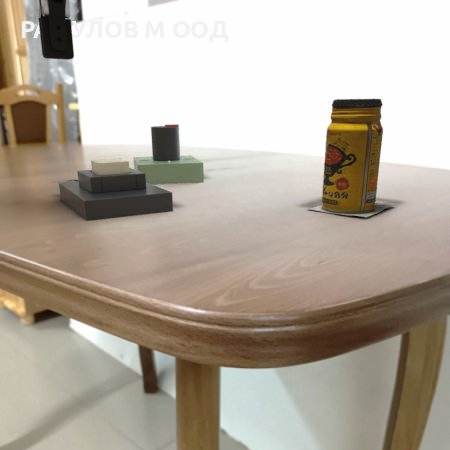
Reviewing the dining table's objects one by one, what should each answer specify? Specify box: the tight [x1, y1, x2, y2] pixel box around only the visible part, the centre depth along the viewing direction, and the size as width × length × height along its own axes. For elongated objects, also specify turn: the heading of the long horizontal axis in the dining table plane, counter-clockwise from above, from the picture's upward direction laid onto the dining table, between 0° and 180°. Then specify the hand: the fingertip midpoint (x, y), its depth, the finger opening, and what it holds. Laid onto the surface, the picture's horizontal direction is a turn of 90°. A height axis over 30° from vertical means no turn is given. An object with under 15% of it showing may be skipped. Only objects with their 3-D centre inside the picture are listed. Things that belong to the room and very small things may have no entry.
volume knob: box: [150, 123, 181, 161], centre depth 78 cm, size 4×4×5 cm
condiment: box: [309, 98, 395, 218], centre depth 55 cm, size 7×8×12 cm
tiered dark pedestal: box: [58, 167, 174, 222], centre depth 59 cm, size 14×10×4 cm
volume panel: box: [132, 154, 205, 185], centre depth 79 cm, size 11×10×3 cm
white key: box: [90, 157, 130, 176], centre depth 58 cm, size 4×4×2 cm
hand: (58, 58), depth 56 cm, fingers closed
